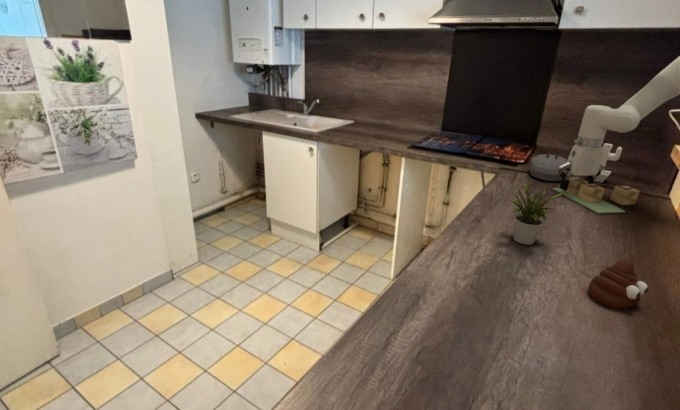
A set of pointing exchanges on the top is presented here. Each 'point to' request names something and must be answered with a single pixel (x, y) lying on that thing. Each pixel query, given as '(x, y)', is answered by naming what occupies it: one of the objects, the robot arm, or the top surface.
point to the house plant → (529, 216)
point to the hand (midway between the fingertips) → (575, 188)
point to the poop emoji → (618, 285)
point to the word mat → (592, 204)
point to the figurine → (605, 157)
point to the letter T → (624, 195)
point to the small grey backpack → (547, 167)
